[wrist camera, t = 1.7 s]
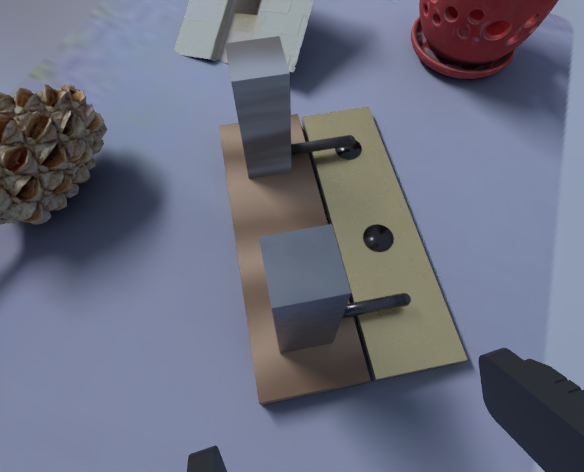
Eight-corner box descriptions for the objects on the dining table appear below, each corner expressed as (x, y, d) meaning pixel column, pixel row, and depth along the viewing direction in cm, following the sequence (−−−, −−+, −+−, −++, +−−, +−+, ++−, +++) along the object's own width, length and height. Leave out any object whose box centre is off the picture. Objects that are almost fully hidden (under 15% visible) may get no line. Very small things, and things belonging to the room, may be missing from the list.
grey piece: (322, 90, 49) (352, -45, 46) (295, 74, 41) (329, -90, 38) (213, 70, 55) (232, -50, 51) (171, 53, 47) (190, -91, 43)
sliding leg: (417, 325, 30) (475, 269, 20) (279, 353, 29) (271, 308, 19) (400, 277, 31) (446, 203, 22) (270, 301, 31) (258, 236, 21)
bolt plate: (462, 362, 30) (468, 359, 29) (373, 381, 29) (376, 378, 28) (366, 113, 42) (368, 106, 41) (302, 123, 41) (302, 116, 40)
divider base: (424, 370, 30) (501, 326, 19) (260, 405, 29) (238, 380, 18) (339, 118, 42) (354, 0, 31) (221, 136, 41) (193, 21, 30)
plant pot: (389, 74, 45) (419, -41, 34) (420, 8, 50) (453, -108, 40) (507, 107, 42) (578, -6, 32) (526, 34, 48) (591, -83, 37)
